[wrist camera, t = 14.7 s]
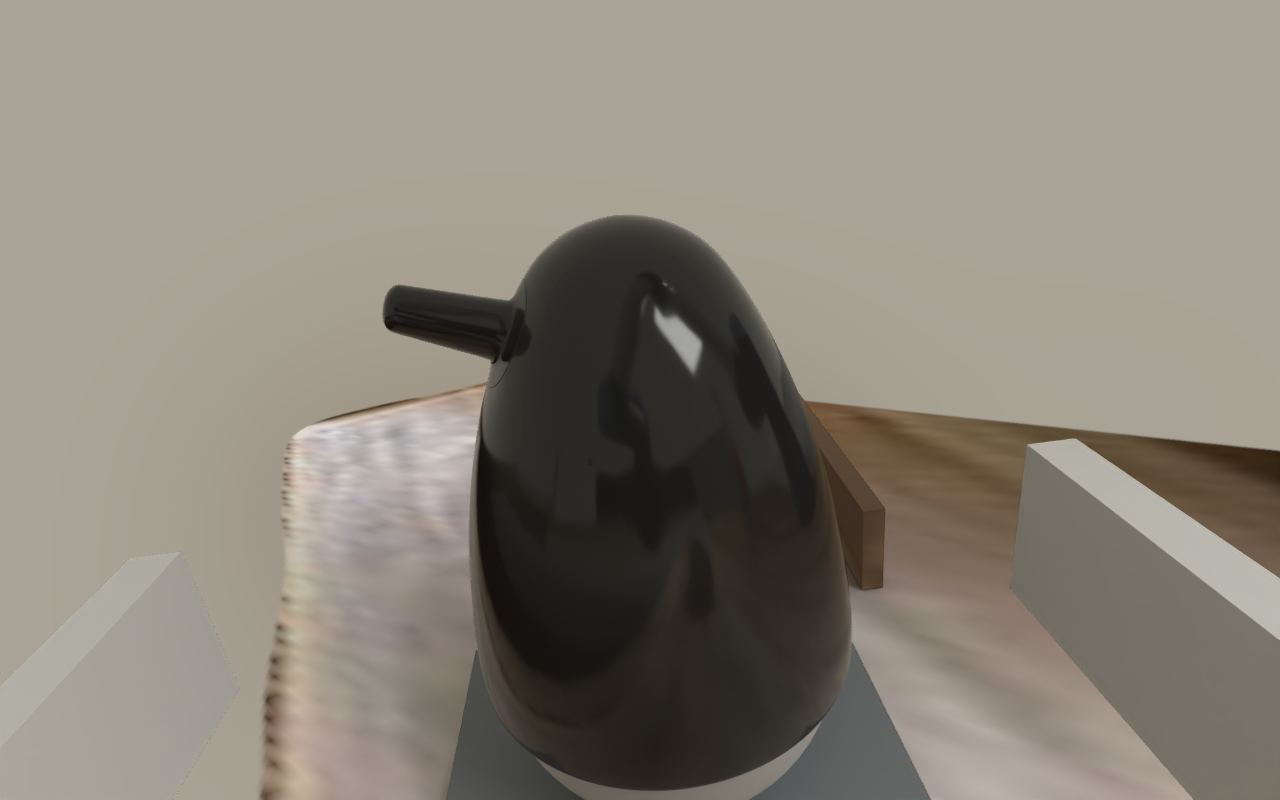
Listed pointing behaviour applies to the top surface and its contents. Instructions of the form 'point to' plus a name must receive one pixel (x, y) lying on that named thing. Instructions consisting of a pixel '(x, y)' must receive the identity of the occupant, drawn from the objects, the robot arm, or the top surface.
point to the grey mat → (804, 796)
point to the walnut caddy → (853, 510)
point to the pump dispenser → (644, 519)
